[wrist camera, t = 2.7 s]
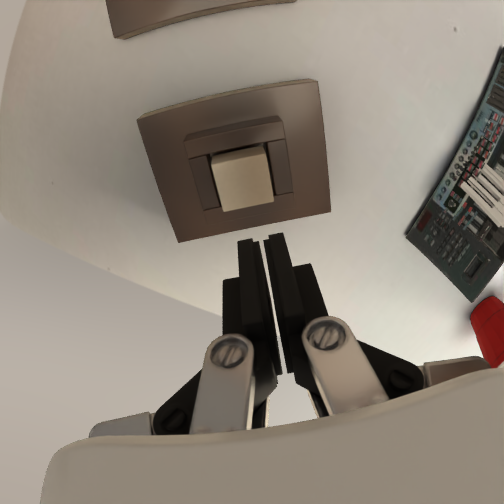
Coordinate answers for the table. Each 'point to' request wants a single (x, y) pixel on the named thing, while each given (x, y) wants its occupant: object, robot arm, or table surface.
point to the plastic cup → (490, 330)
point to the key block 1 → (167, 12)
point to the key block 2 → (232, 139)
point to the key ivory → (242, 178)
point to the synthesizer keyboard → (470, 202)
